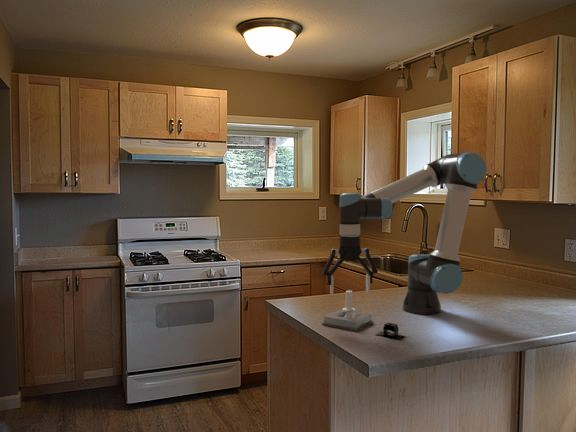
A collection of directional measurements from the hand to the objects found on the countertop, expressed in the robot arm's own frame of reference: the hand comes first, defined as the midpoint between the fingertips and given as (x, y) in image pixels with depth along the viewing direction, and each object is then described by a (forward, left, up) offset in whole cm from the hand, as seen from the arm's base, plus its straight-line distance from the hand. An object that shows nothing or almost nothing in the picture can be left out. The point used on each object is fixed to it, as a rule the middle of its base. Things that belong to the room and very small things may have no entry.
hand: (349, 293), depth 182 cm
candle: (0, 0, -11) cm, 11 cm away
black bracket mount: (-18, +5, -12) cm, 22 cm away
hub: (0, 0, -11) cm, 11 cm away
